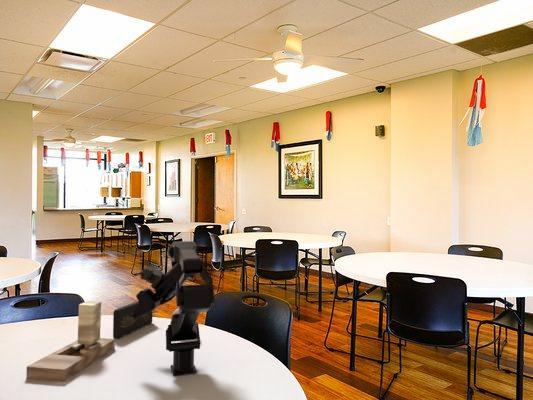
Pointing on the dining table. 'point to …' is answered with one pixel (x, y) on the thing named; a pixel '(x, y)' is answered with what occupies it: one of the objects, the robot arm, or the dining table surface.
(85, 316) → the peg
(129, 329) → the nameplate
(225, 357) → the dining table surface
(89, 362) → the keyhole board
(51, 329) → the dining table surface
